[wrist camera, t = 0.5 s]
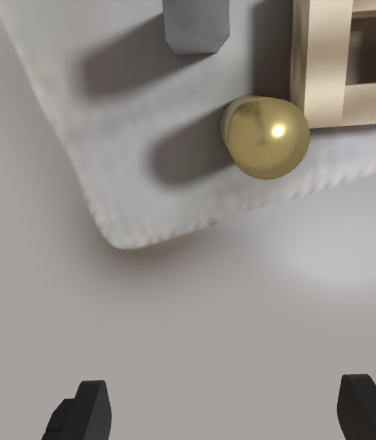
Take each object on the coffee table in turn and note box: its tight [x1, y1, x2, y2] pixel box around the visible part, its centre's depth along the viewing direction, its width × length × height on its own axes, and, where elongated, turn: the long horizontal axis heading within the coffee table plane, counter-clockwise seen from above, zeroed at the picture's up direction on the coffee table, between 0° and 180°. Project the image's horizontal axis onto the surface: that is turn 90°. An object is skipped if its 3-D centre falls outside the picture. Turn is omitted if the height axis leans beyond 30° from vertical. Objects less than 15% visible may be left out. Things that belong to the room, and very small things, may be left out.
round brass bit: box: [220, 95, 310, 180], centre depth 30 cm, size 6×6×10 cm
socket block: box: [289, 0, 376, 128], centre depth 29 cm, size 12×12×5 cm
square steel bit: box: [162, 0, 230, 56], centre depth 26 cm, size 4×4×12 cm
